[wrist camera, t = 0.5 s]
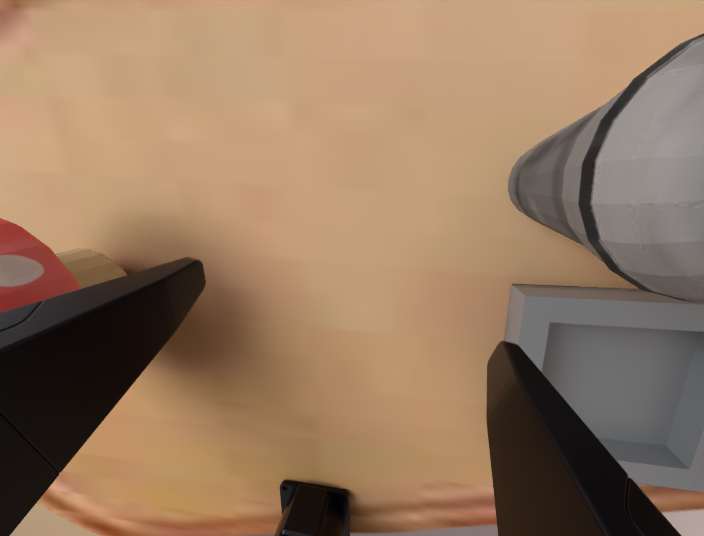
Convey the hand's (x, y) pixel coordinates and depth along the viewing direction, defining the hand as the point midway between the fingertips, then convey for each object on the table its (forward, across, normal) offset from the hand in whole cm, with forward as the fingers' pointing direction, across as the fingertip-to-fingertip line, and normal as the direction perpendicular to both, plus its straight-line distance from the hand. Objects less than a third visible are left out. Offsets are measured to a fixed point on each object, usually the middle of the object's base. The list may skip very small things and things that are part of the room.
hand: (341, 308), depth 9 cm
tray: (+11, -17, +10) cm, 22 cm away
